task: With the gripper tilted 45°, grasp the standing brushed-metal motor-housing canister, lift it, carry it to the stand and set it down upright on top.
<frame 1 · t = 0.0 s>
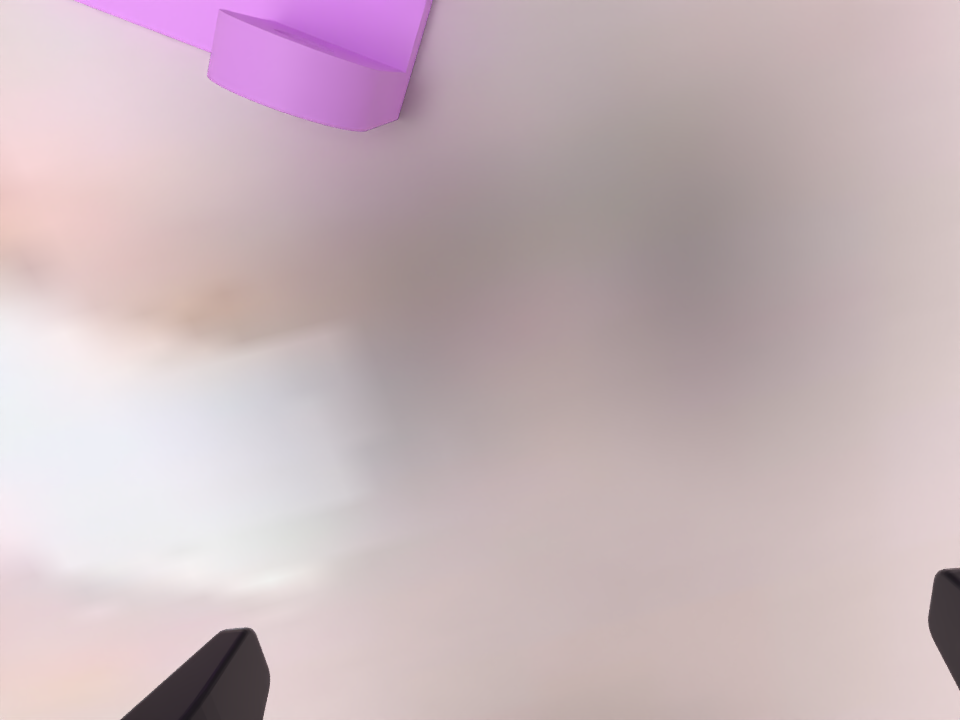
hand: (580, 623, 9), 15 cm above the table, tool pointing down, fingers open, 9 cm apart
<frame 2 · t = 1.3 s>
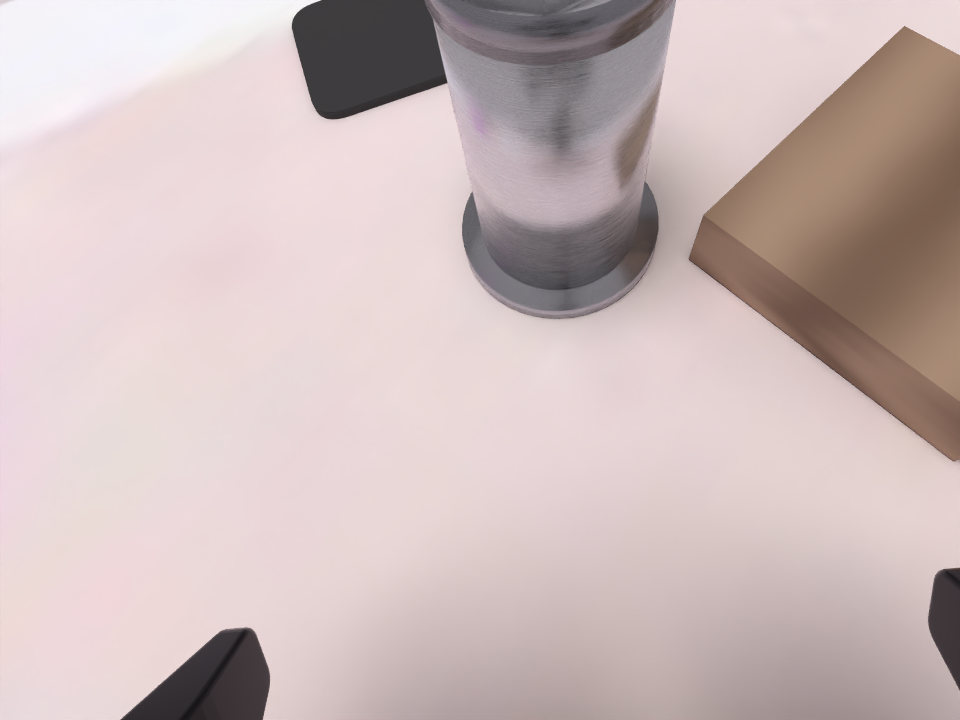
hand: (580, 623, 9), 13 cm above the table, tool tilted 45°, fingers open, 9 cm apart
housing: (558, 232, 26), on the table
phone: (454, 28, 32), on the table
stand: (906, 252, 24), on the table
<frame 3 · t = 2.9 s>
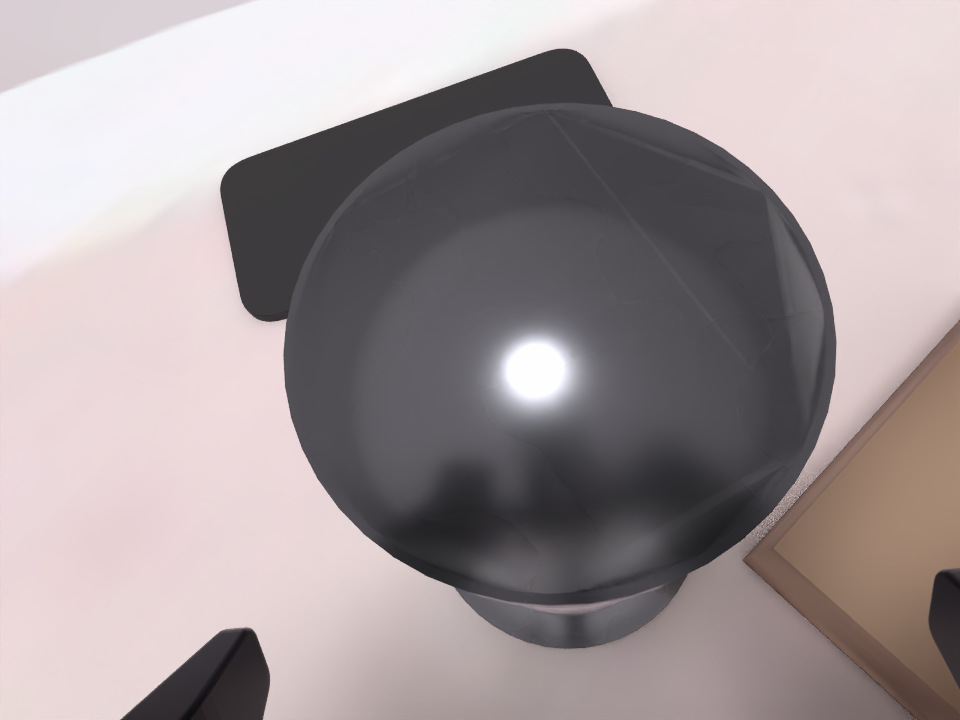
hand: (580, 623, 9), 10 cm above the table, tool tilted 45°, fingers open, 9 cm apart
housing: (562, 507, 19), on the table
phone: (426, 190, 25), on the table
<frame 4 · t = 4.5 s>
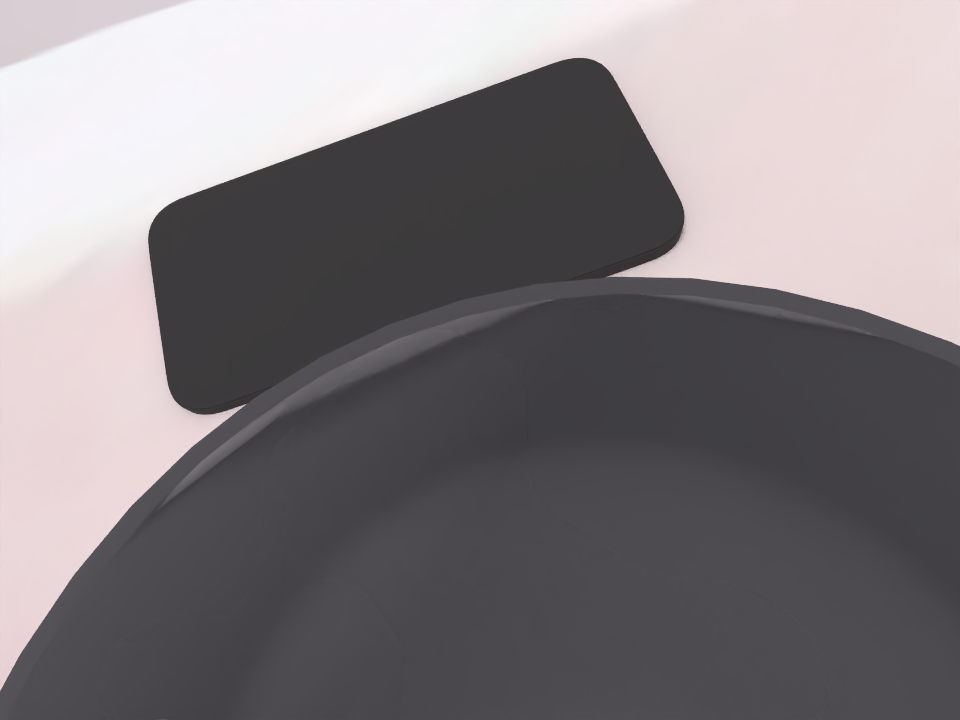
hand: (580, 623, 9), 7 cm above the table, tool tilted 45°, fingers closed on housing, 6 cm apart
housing: (585, 691, 14), on the table, touching gripper
phone: (407, 239, 20), on the table
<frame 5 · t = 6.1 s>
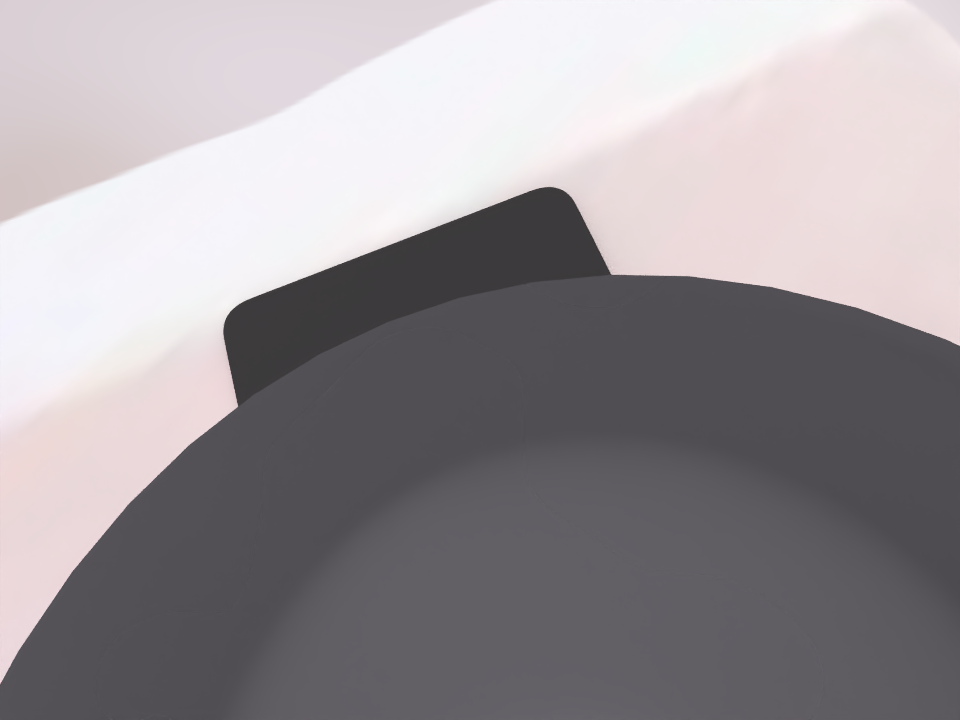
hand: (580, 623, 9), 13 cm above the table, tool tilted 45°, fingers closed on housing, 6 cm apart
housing: (584, 691, 14), point 7 cm above the table, touching gripper
phone: (421, 330, 26), on the table
when the fingers open (11 cm above the table, at t = 8.0 s): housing drops 1 cm, resting on stand.
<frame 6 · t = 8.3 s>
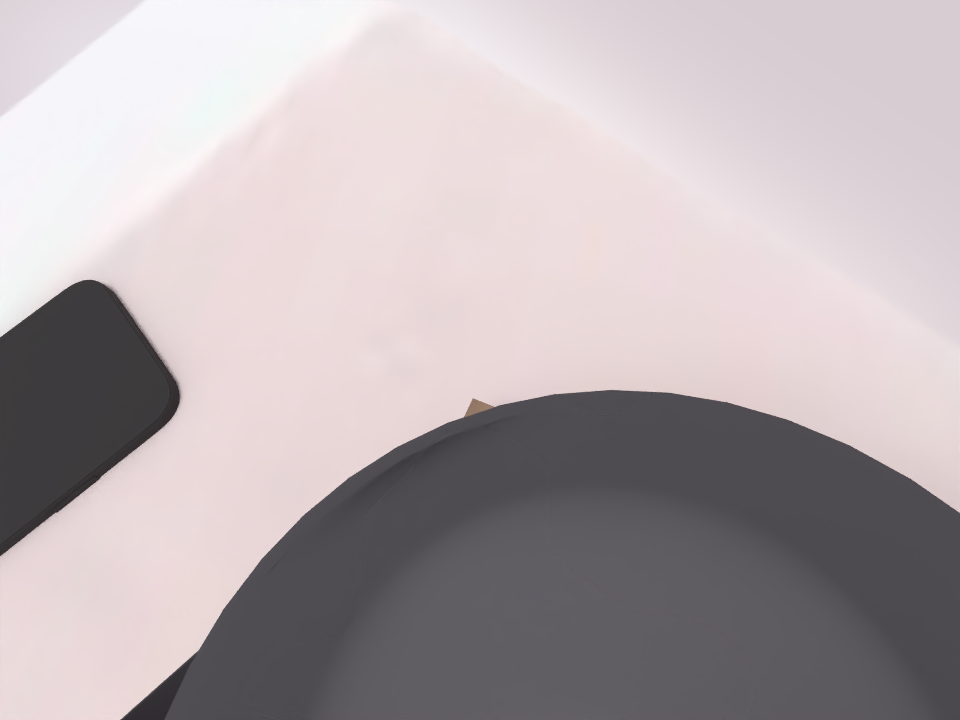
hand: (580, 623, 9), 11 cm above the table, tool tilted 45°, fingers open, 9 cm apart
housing: (585, 691, 16), point 3 cm above the table, touching stand
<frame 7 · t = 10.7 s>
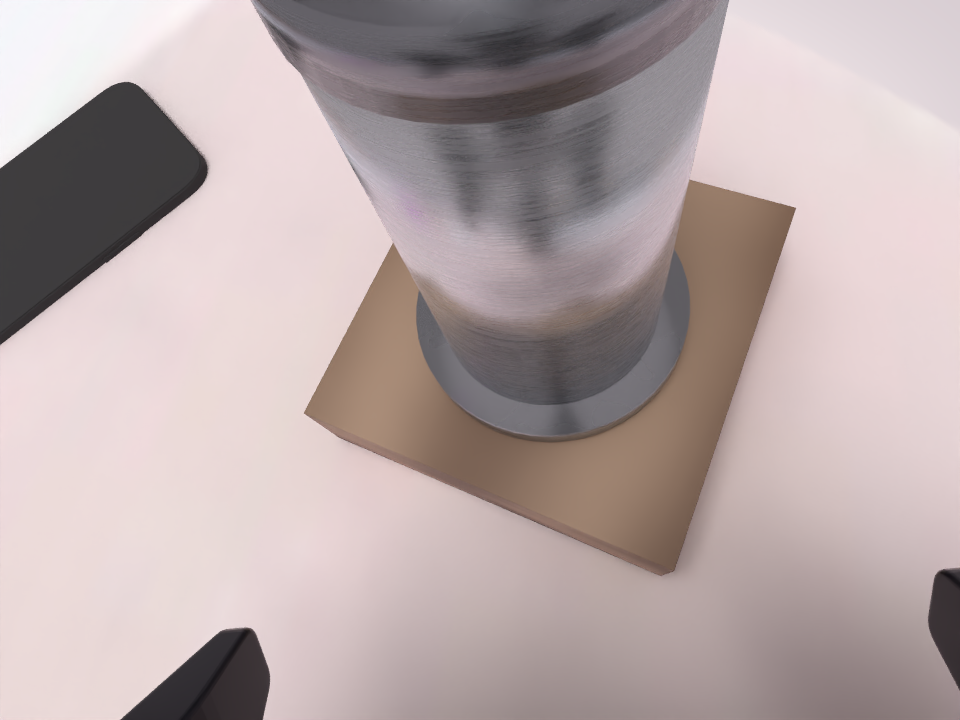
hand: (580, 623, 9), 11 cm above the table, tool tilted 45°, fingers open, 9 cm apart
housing: (550, 313, 19), point 3 cm above the table, touching stand
phone: (38, 243, 28), on the table
stand: (553, 347, 22), on the table
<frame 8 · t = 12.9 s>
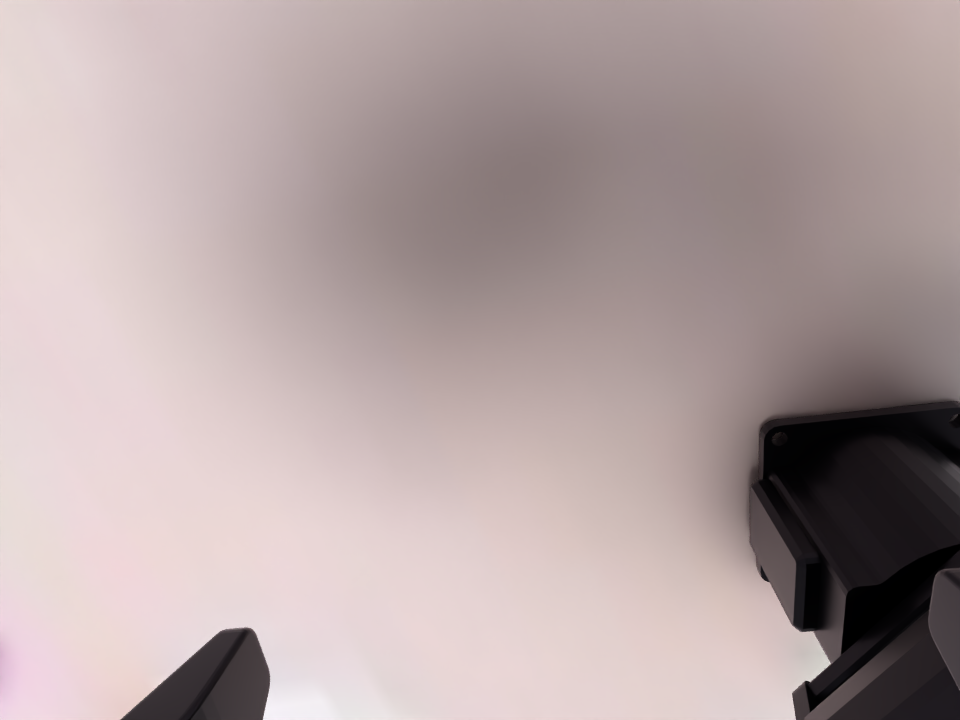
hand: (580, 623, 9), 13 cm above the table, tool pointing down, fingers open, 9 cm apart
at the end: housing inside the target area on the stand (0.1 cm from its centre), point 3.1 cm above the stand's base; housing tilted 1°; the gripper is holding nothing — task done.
